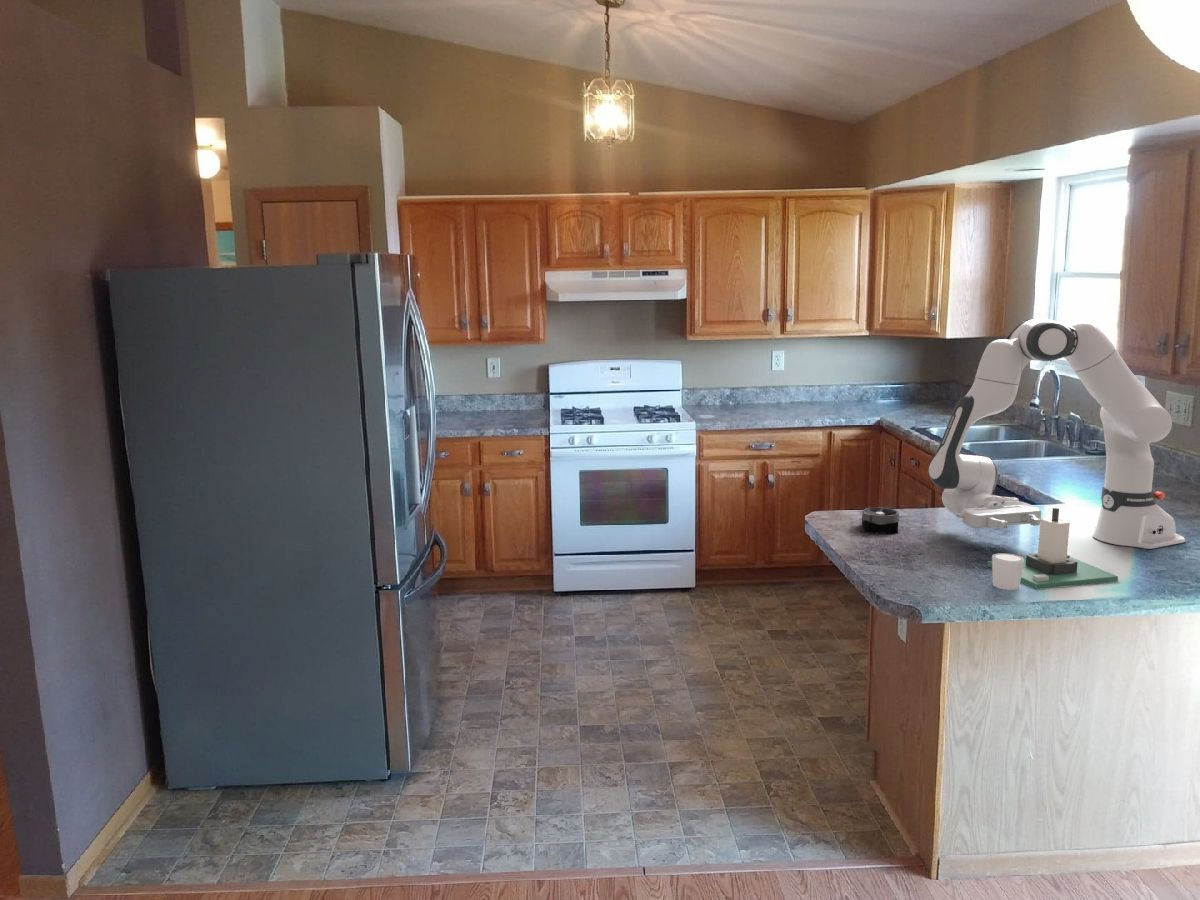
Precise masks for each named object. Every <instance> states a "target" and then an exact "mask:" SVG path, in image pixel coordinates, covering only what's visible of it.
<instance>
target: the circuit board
mask: <svg viewBox="0 0 1200 900" xmlns="http://www.w3.org/2000/svg"><path fill="white" fill-rule="evenodd" d="M1023 558H1024V564H1023V569H1022V575H1021V580H1020V583H1022V584H1025V585H1027V586H1029V587H1031V588H1033V589H1035V590H1043V589H1045V590H1046V589H1053V588H1054V589H1055V588H1063V587H1072V586H1083V584H1084V585H1091V584H1090V583H1094V584H1102V583H1101V582H1104V583H1113V582H1118V580H1119V576H1118V575H1116V574H1113V573H1111V572H1109V571H1106V570H1104V569H1101V568H1099V567H1096V566H1094V565H1091V564H1089V563H1086V562H1084V561H1081V560H1080V559H1077V558H1074V557H1072V556H1070V555H1069V554H1067V561H1066V562H1063V563H1053V564H1051V563H1048V562H1046V561H1044V560H1041V559H1039V558H1038V552H1037V553H1029V554H1027V555H1026V557H1023ZM986 563H987V564H986V566H987V567H989V568H991V569H992V560H987V561H986Z"/></svg>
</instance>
